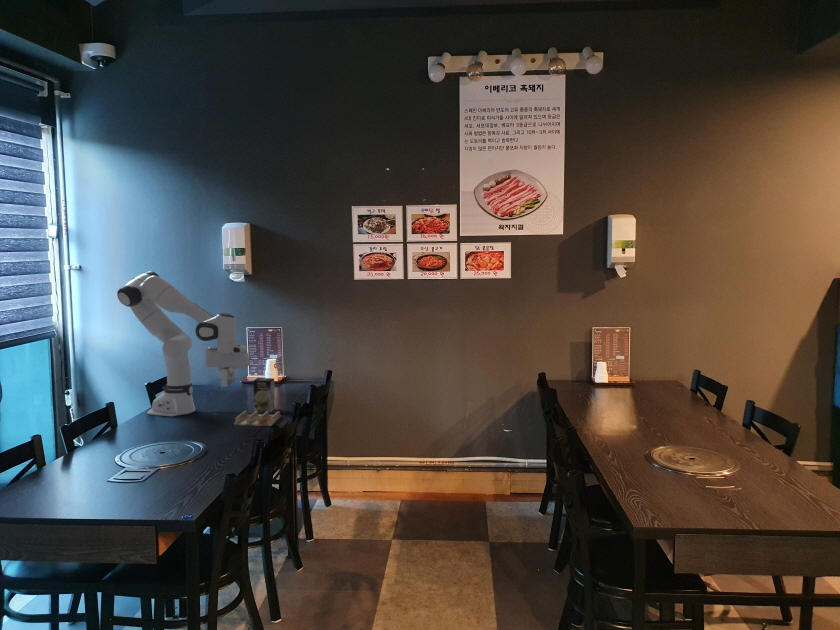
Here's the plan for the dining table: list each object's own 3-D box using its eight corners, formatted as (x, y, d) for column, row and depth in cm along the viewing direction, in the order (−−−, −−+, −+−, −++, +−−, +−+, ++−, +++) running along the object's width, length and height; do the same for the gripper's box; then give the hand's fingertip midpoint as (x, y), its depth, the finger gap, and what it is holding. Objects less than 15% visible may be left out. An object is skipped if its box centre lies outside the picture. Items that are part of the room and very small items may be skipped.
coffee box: (253, 411, 298) (252, 380, 297) (258, 408, 305) (257, 377, 303) (271, 412, 298) (270, 380, 296) (275, 408, 304) (274, 378, 302)
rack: (234, 425, 276) (234, 418, 275) (245, 415, 291) (245, 409, 290) (270, 425, 275) (270, 419, 274) (280, 416, 290) (280, 410, 289)
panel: (220, 386, 277) (220, 369, 276) (229, 381, 287) (228, 365, 286) (227, 386, 276) (226, 369, 276) (235, 381, 286) (234, 365, 285)
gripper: (202, 348, 277) (203, 377, 279) (245, 349, 276) (246, 378, 277) (208, 346, 283) (209, 374, 285) (250, 346, 282) (251, 375, 283)
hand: (227, 376), depth 281 cm, fingers closed on panel, 3 cm apart
